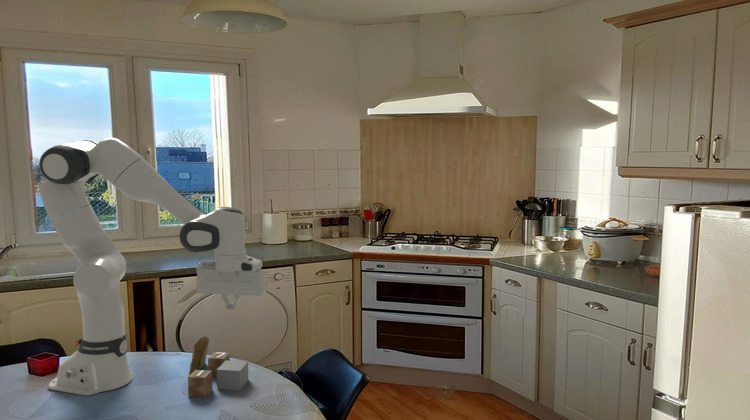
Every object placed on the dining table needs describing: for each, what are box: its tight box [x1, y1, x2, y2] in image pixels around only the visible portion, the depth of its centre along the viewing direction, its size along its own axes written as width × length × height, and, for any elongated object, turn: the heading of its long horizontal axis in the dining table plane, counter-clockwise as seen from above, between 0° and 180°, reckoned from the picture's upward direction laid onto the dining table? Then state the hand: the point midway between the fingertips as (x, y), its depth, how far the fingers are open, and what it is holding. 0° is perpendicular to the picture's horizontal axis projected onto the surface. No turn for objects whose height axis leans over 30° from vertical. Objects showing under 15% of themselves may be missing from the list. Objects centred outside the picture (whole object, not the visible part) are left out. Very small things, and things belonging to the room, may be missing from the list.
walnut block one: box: [187, 369, 214, 399], centre depth 155 cm, size 5×5×6 cm
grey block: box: [216, 360, 249, 391], centre depth 161 cm, size 7×7×6 cm
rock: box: [188, 335, 210, 375], centre depth 172 cm, size 11×9×10 cm
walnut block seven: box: [207, 351, 231, 378], centre depth 169 cm, size 5×5×6 cm
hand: (231, 308), depth 159 cm, fingers closed
